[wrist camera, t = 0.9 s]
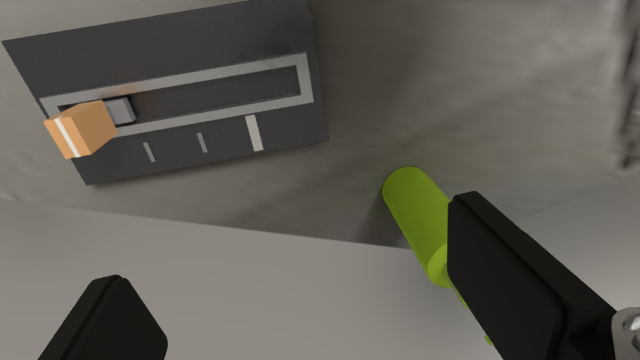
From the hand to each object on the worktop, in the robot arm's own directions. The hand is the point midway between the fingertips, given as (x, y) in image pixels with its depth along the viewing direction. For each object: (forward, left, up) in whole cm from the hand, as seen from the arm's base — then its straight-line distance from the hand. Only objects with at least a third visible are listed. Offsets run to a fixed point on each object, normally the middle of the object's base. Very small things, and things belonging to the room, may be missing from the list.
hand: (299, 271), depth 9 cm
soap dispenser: (+14, +13, -25) cm, 31 cm away
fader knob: (-1, -15, -22) cm, 26 cm away
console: (-1, -8, -25) cm, 26 cm away
